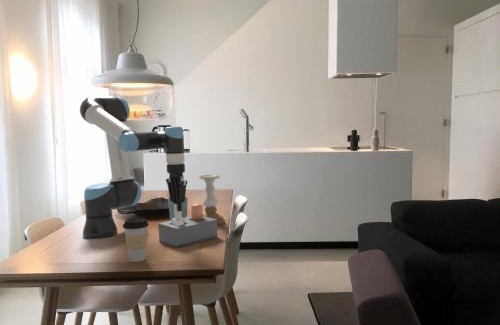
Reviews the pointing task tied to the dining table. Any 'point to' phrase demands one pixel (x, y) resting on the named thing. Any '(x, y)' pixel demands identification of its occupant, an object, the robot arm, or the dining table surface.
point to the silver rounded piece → (178, 221)
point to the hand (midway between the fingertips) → (178, 218)
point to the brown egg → (196, 212)
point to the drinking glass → (184, 208)
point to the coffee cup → (136, 238)
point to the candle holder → (211, 199)
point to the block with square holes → (187, 232)
